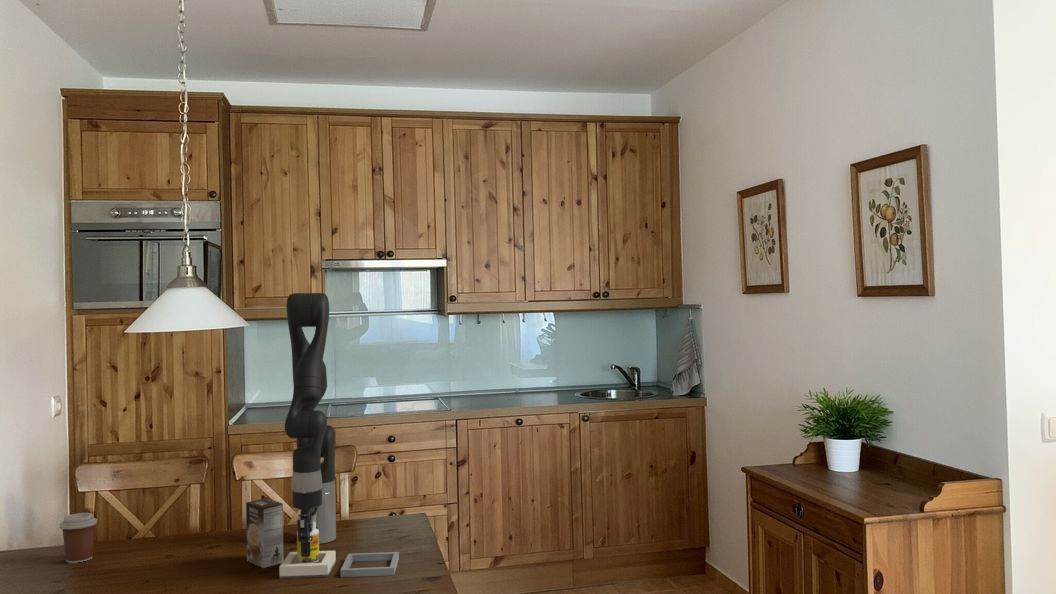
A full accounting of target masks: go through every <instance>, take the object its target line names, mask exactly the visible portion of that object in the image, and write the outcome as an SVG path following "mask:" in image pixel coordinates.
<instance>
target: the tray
mask: <svg viewBox="0 0 1056 594" xmlns="http://www.w3.org/2000/svg"><path fill="white" fill-rule="evenodd" d="M399 558H400V552H399V551H391V552H390V551H389V552H382V551H381V552H364V553H363V552H360V553H359V552H358V553H348V554H347V556H346V558H345V560H344V562H343V564H342V566H341V568H340V578H357V577H358V578H359V577H360V578H361V577H379V576H380V577H381V576H382V577H384V576H395V573H396V569H397V567H398V564H399V563H398V562H399V561H400V560H399ZM374 561H375V562H378V561H379V562H380V561H391V562H390V565H389V566H379V567H377V566H376V567H375V566H374V567H373V566H372V567H353V568H352V567H351V566H352V564H353V562H354V563H355V562H374Z"/></svg>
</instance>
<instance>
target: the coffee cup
mask: <svg viewBox="0 0 1056 594" xmlns="http://www.w3.org/2000/svg"><path fill="white" fill-rule="evenodd" d="M97 524H98V519H97V518H95V517H94V515H93V513H91V512H79V513H73V514H68V515H66V516H64V517H63V520H62V522H61V523H59V529H61V530H62V535H63V546H64V555H65V563H66V562H68V563H67V564H71V563H73V564H79V563H78V562H82V563H84V562H83V561H86V562H88V561H87V560H89V561H91V560H93V553H94V552H93V550H94V536H95V525H97ZM90 559H91V560H90Z"/></svg>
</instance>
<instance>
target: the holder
mask: <svg viewBox="0 0 1056 594" xmlns="http://www.w3.org/2000/svg"><path fill="white" fill-rule="evenodd" d="M336 554H337V553H336V550H319V561H318V562H316V563H302V564H299V563H298V562H297V551H290V552H289V553H288V554H287V556H286V557H285V558H284V559H283V562H282V563H280V564H279V567H278V568H279V569H278V570H279V571H278V572H279V580H281V579H284V578H285V579H307V578H328V577H329V575H330V574H331V571H332V570H333V568H334V566H335V564H336V561H337V559H336V558H337V557H336V556H337V555H336ZM285 579H284V580H285Z"/></svg>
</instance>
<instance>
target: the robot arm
mask: <svg viewBox="0 0 1056 594" xmlns="http://www.w3.org/2000/svg"><path fill="white" fill-rule="evenodd" d="M286 318H287V325H288V326H287V327H288V331H289V338H290V348H291V363H292V383H293V390H292V391H293V393H292V399H291V403H290V407H289V409H288V413H287V415H286V418H285V421H284V431H285V434H286V436H287V437H289V438H290V439H296V448H295V449H294V450H293V451H292V477H291V494H292V497H291V499H292V500H291V501H292V503H291V505H292V507H293V508H295V509H299V510H300V513H299V514H298V519H297V521H296V523H297V532H298V541H299V542H301V556H302V557H309V556H310V541H311V539H310V538H311V533H312V532H313V522H316V529H318V530H319V545H320V544H327V543H331V542H333V541H335V540H337V517H336V516H337V515H336V511H337V510H336V509H337V508H336V503H337V502H336V470H335V469H336V467H335V466H336V465H335V464H336V463H335V462H336V461H335V459H336V458H335V456H336V430H335V428H334V426H332V425H328V418H327V416H326V414H325V413H324V412H323V411H322V410H315V409H316V407H317V406H318V405H319V403H320V402H321V400H322V399H323V397H324V396H325V394H326V392H327V388H328V377H327V376H328V375H327V366H326V364H325V362H324V354H325V349H326V343H327V335H328V329H329V320H330V302H329V299H328V296H327V294H325V293H324V292H295V293H290V294H289V295H288V296H287V298H286ZM308 327H309V328H315V330H314V331H315V332H314V334H313V338H312V340H311V342H309V341H308V339H307V337H306V335H305V332H304V329H303V328H308ZM321 458H323V460H322V462H321ZM308 528H310V529H308ZM303 533H305V534H306V537H303Z"/></svg>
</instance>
